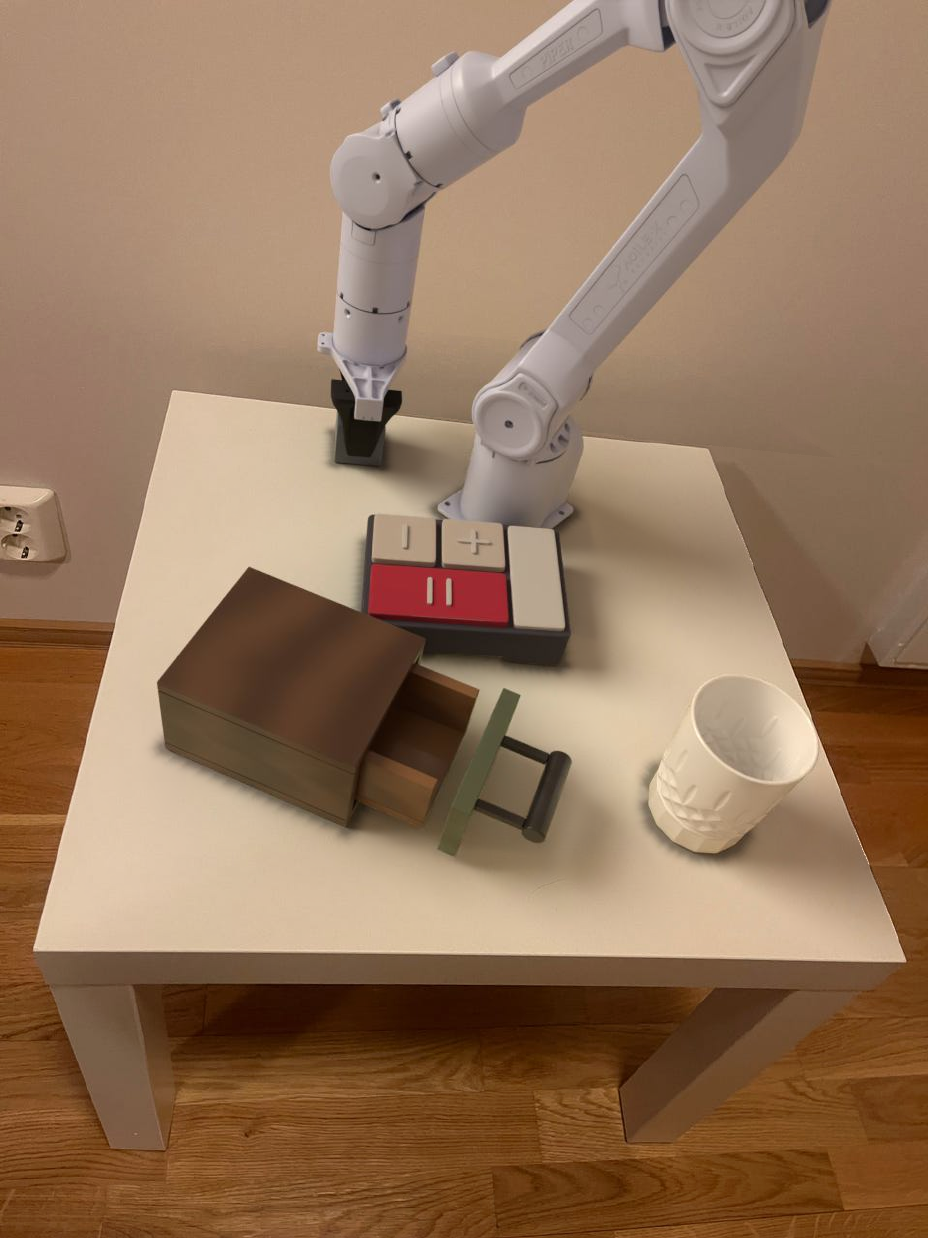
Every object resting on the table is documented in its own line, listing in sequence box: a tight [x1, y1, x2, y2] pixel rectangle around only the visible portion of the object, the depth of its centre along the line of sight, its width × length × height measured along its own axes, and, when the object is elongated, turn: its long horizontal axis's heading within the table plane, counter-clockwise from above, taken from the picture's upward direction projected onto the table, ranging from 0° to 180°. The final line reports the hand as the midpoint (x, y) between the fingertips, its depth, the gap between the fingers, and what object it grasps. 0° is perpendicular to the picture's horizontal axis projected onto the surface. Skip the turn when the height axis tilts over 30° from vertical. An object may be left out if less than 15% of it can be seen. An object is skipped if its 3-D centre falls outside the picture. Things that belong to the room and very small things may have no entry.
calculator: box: [360, 513, 572, 666], centre depth 68 cm, size 11×4×15 cm
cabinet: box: [156, 566, 426, 828], centre depth 58 cm, size 13×11×7 cm
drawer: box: [354, 663, 573, 858], centre depth 57 cm, size 16×9×5 cm, turn 69°
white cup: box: [647, 673, 820, 854], centre depth 58 cm, size 8×8×10 cm
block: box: [333, 411, 387, 467], centre depth 78 cm, size 4×4×4 cm
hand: (358, 436), depth 79 cm, fingers closed on block, 4 cm apart
